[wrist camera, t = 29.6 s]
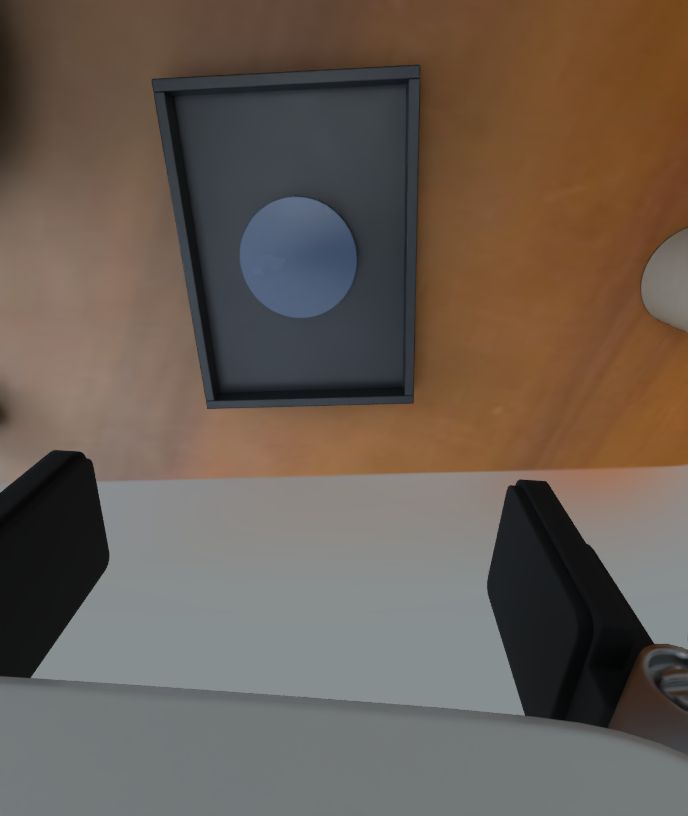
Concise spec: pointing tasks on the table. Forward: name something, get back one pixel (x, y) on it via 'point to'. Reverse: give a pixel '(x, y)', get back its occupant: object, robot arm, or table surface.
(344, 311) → the tray
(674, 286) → the jar
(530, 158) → the table surface
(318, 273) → the jar lid
